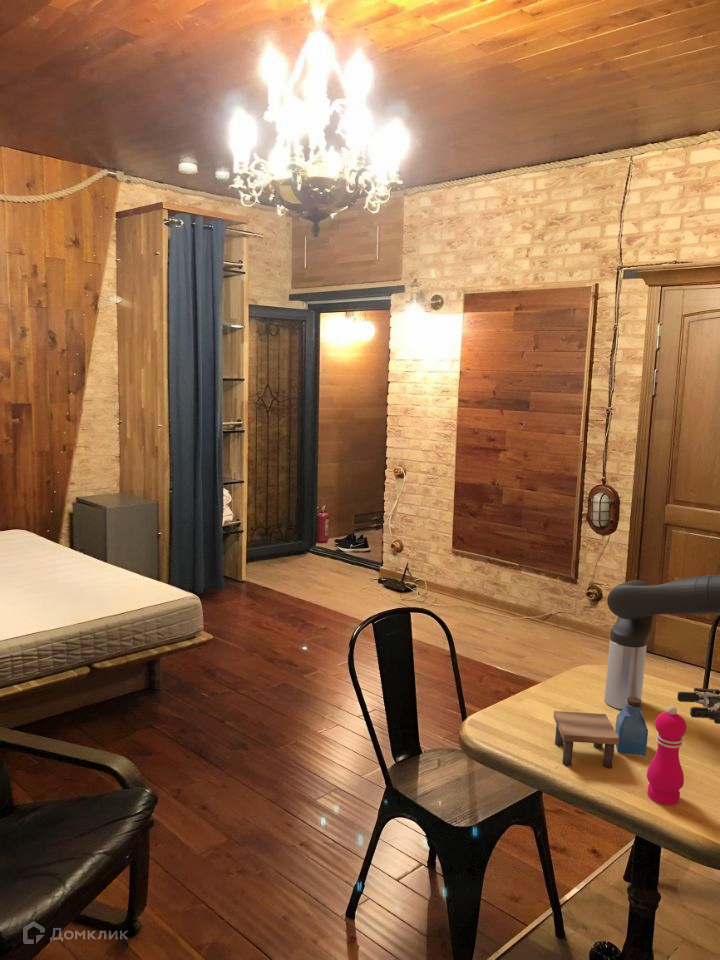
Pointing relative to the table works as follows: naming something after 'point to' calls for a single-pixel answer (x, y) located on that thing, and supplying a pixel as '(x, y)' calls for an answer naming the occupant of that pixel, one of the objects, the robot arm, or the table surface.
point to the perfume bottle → (632, 729)
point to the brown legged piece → (585, 734)
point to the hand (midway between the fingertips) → (684, 704)
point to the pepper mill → (667, 759)
